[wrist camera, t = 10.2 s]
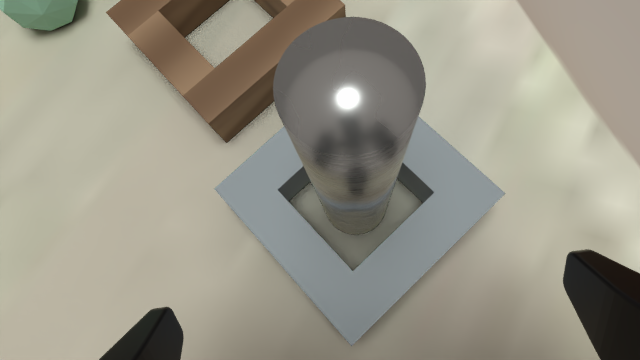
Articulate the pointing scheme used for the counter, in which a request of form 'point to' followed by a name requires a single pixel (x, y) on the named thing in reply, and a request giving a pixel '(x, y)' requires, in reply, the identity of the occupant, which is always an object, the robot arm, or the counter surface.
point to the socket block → (389, 257)
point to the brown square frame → (235, 71)
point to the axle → (350, 113)
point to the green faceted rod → (40, 12)
